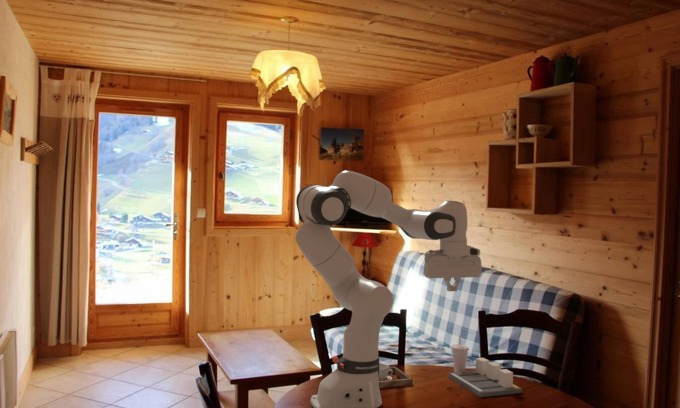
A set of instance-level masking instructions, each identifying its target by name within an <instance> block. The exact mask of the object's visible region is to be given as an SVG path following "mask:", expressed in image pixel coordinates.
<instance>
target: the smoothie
mask: <svg viewBox="0 0 680 408" xmlns="http://www.w3.org/2000/svg"><path fill="white" fill-rule="evenodd" d="M461 337H462V335H460V334H459V335H458V344H453V345H451V351H452V359H453V361H452V362H453V370H454V372H453V373H455V372H466V366H467V360H468V351H470V349H469V348H470V347H469V346H468V345H466V344H461V342H462V341H461V339H462V338H461Z"/></svg>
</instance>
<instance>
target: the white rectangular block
mask: <svg viewBox="0 0 680 408" xmlns="http://www.w3.org/2000/svg"><path fill="white" fill-rule="evenodd" d="M501 369H502V365H501V364H500V363H497V362H495V361H493V362H490V361H489V363H487V377H488V378H490V379H492V380H498V370H501Z"/></svg>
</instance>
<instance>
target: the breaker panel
mask: <svg viewBox="0 0 680 408" xmlns="http://www.w3.org/2000/svg"><path fill="white" fill-rule="evenodd" d="M489 362H490V360H489V359H486V358H485V357H476V358H475V370H469V371H466V370H465V372H448V373H447V374H448V375H447V377H448V378H449V379H451V380H452V381H454V382H456V383H457V384H458V385H460V386H462V387H463V388H464V389H467V390H468V391H469V392H471V393H473V394H474V395H476V396H478V397H479V398H486V397H495V396H506V395H507V396H508V395H516V393H517V394H523V393H522V391H523V389H522V387H520V386H519V385H518V386H517V385H516V384H514V372H513V371H510V370H509V369H507V368H505V369H504V368H501V370H498V380H492V379H490V378H488V377H487V363H489Z"/></svg>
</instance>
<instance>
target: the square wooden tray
mask: <svg viewBox="0 0 680 408" xmlns="http://www.w3.org/2000/svg"><path fill="white" fill-rule="evenodd" d="M389 369H391V370H392V371H393V372H394V373H392V372H391V371H389V372H388V374H391V373H392V374H395V375H396V376H397V377H398V376H399V378H400V379H398V378H397V379H392V380H386V381H379V389H384V388H392V387H393V388H395V387H405V386H413V384H414V383H413V380H414V379H413V378H412V377H410V376H409V375H408V374H407V373H405V372H404V371H402V370H401V369H399V368H398V367H396V366H389Z"/></svg>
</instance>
